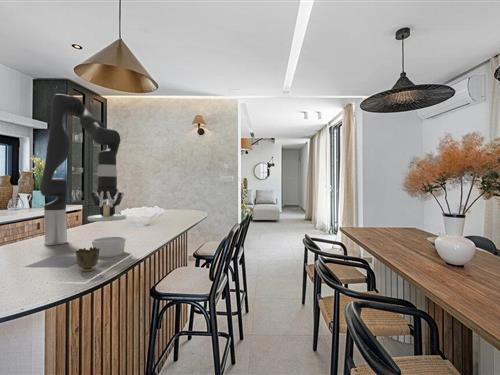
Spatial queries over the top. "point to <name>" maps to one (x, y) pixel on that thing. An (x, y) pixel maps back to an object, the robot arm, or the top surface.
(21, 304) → the top surface
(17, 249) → the top surface
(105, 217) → the lid
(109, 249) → the ramekin
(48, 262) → the mat
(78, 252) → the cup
